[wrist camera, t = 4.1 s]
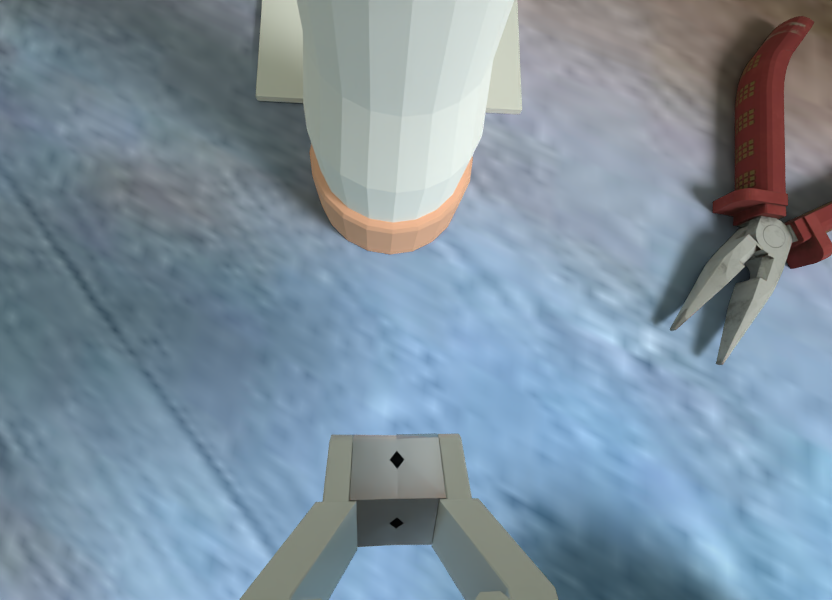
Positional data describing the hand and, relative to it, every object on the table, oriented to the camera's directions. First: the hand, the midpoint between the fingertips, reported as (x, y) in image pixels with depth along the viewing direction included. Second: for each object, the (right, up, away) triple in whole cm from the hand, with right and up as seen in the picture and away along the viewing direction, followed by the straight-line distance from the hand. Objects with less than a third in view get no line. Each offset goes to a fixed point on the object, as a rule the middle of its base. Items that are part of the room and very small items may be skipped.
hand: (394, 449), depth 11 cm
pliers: (+20, +10, +15) cm, 27 cm away
